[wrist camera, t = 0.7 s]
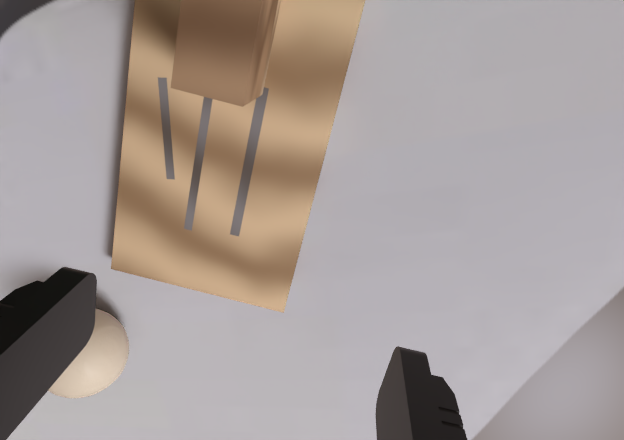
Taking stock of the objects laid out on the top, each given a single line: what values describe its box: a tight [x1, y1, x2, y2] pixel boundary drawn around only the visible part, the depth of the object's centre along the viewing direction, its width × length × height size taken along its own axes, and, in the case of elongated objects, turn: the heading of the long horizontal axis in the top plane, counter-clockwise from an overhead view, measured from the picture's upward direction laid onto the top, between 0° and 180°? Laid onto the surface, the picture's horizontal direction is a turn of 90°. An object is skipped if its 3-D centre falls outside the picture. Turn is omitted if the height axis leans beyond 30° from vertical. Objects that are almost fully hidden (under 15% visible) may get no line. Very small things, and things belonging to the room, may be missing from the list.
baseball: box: [48, 309, 129, 398], centre depth 37 cm, size 7×7×7 cm
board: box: [111, 0, 365, 313], centre depth 32 cm, size 24×14×1 cm, turn 166°
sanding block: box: [171, 0, 281, 107], centre depth 26 cm, size 8×4×6 cm, turn 166°
